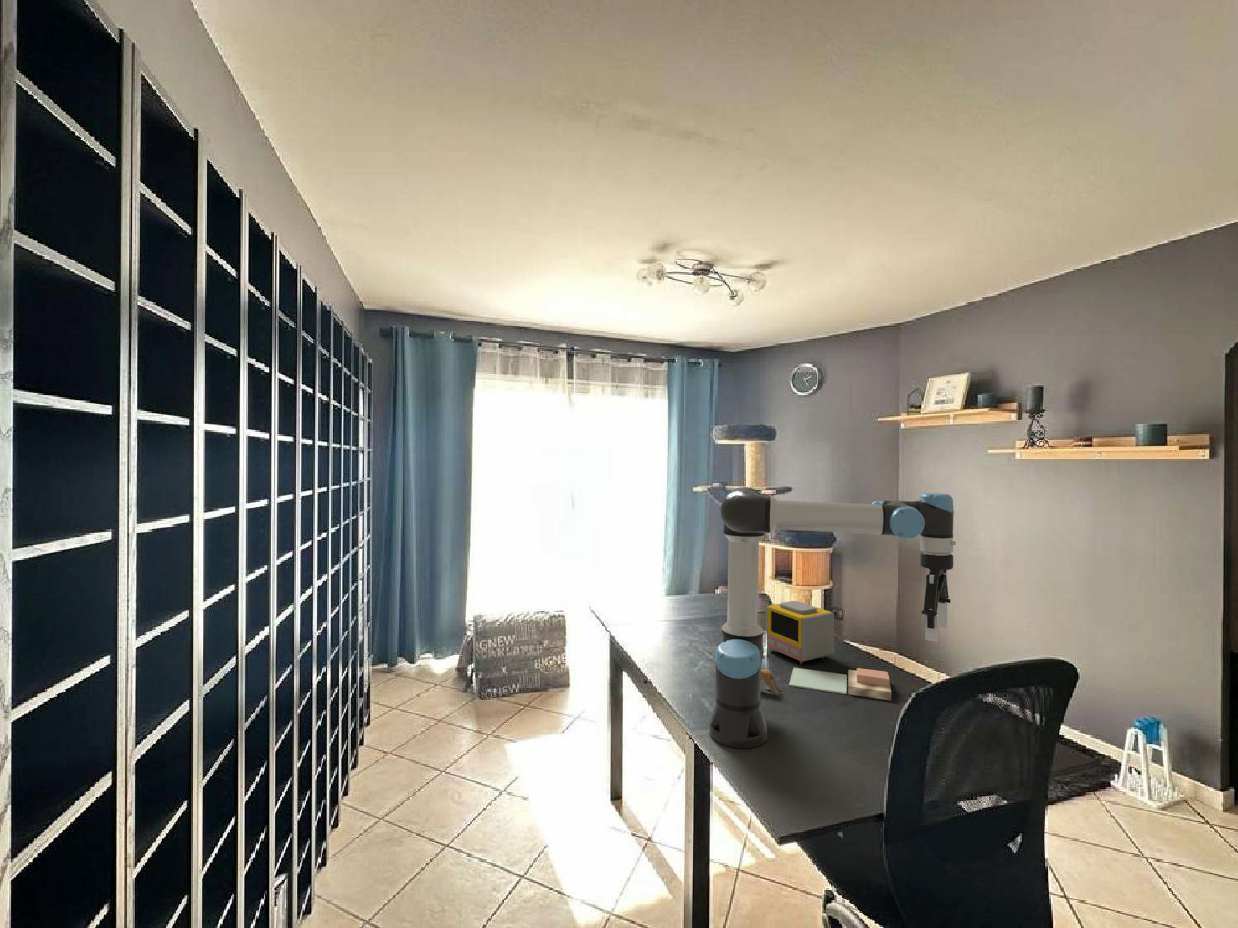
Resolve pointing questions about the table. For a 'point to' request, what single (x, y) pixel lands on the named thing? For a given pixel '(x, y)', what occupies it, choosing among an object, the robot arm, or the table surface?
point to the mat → (819, 680)
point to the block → (872, 677)
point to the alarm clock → (800, 630)
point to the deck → (867, 688)
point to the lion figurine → (768, 680)
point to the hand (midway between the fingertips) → (936, 633)
